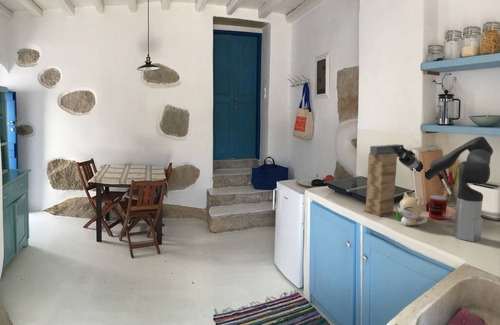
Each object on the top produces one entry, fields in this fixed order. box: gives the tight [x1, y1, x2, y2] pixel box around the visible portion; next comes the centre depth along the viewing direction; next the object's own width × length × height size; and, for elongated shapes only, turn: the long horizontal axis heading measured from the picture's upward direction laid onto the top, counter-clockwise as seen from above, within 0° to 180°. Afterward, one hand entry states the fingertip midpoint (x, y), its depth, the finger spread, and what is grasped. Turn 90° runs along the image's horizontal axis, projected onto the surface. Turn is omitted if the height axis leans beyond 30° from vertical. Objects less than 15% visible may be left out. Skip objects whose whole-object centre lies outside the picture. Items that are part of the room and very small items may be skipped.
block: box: [369, 144, 404, 155], centre depth 179 cm, size 4×21×4 cm, turn 120°
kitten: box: [395, 192, 429, 227], centre depth 162 cm, size 15×10×15 cm
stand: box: [362, 152, 398, 218], centre depth 180 cm, size 11×12×32 cm
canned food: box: [428, 194, 448, 221], centre depth 173 cm, size 8×8×11 cm
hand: (393, 147), depth 181 cm, fingers open, 8 cm apart
